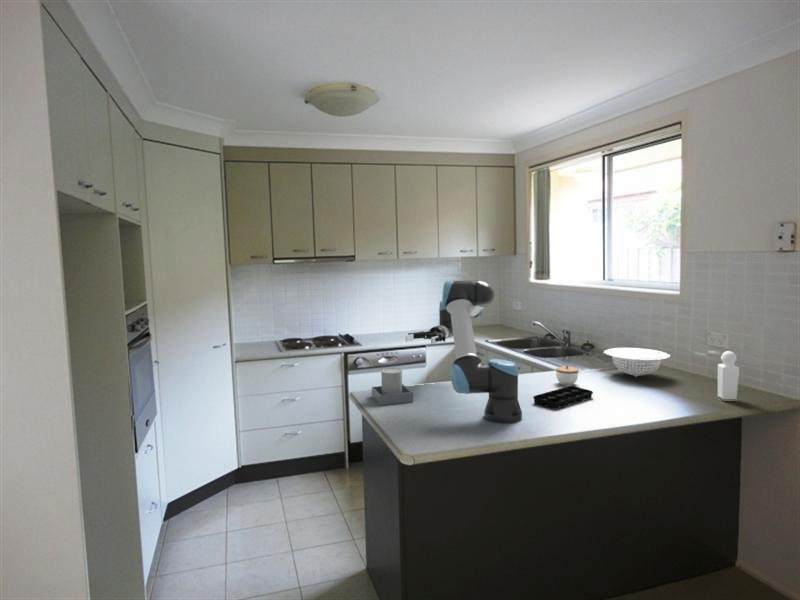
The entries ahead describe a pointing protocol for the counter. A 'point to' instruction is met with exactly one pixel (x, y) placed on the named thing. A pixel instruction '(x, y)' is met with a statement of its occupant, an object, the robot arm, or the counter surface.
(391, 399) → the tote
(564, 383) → the lidded jar
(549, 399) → the egg carton
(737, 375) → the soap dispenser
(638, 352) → the colander
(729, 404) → the counter surface
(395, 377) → the gray cylinder
